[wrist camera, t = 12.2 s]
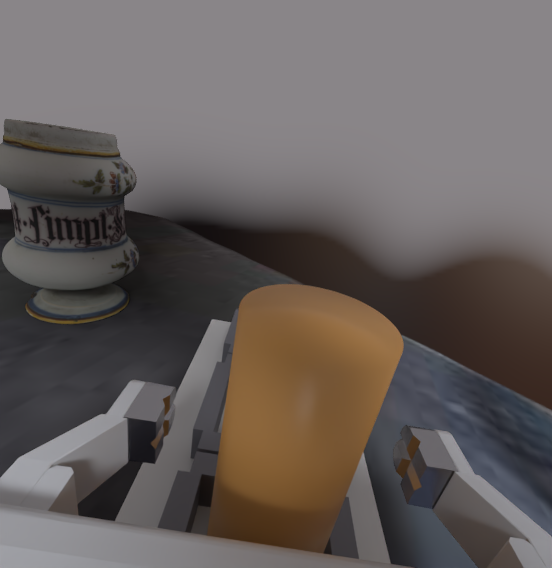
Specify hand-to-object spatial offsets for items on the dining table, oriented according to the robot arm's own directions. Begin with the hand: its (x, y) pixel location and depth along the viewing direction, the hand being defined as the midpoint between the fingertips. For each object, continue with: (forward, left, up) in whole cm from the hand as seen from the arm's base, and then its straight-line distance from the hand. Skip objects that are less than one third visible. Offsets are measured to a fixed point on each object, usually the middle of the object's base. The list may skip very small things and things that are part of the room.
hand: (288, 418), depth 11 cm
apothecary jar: (-31, -3, -11) cm, 33 cm away
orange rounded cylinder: (+1, -1, -9) cm, 9 cm away
